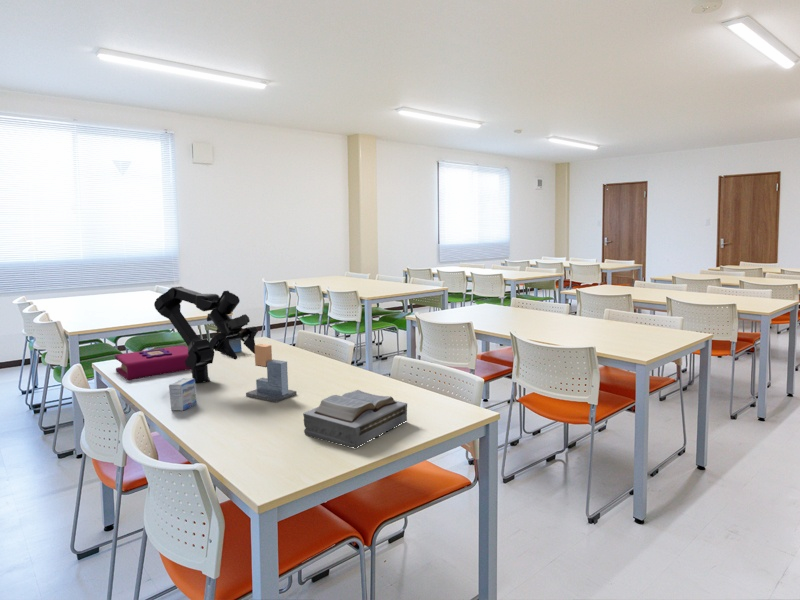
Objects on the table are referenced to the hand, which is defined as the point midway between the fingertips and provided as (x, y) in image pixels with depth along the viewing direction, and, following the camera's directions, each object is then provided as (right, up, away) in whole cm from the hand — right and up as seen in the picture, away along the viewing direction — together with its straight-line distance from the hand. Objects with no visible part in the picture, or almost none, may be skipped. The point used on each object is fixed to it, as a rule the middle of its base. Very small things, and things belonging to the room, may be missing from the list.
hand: (246, 356), depth 192 cm
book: (-46, -10, +33) cm, 58 cm away
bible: (+42, -18, -36) cm, 58 cm away
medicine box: (-16, -15, -15) cm, 27 cm away
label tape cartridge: (-25, -5, +63) cm, 68 cm away
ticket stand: (+10, -13, -4) cm, 17 cm away
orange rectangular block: (+7, -3, -4) cm, 9 cm away
